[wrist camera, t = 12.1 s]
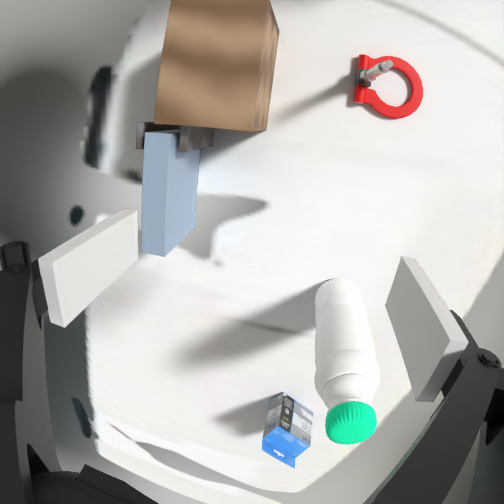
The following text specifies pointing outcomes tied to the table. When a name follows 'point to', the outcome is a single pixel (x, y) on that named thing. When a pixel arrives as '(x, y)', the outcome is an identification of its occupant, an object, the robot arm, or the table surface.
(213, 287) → the table surface
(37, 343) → the robot arm
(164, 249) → the door
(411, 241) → the table surface
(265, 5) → the cabinet
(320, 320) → the water bottle
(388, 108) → the tow hook
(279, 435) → the label tape box
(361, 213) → the table surface
